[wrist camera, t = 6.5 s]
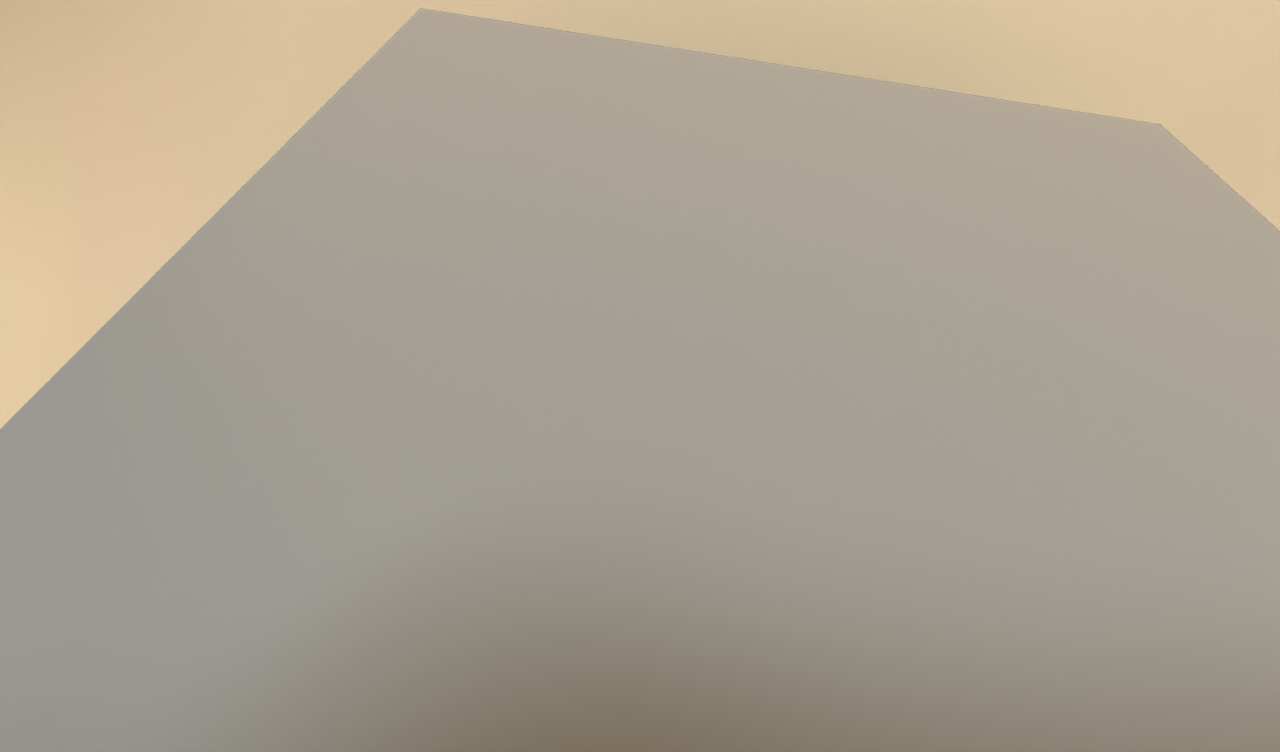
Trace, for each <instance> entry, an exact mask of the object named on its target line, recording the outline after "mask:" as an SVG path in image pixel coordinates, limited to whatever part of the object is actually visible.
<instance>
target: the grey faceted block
mask: <svg viewBox="0 0 1280 752" xmlns="http://www.w3.org/2000/svg"><path fill="white" fill-rule="evenodd" d="M0 752H1280V231H1279V230H1278V229H1277V228H1276V227H1275V226H1274V225H1272V224H1271V223H1270V222H1269V221H1268V220H1267V219H1266V218H1265V217H1264V216H1262V215H1261V214H1260V213H1259V212H1258V211H1257V210H1256V209H1255V208H1253V207H1252V206H1251V205H1250V204H1249V203H1248V202H1247V201H1246V200H1245V199H1243V198H1242V197H1241V196H1240V195H1239V194H1238V193H1237V192H1236V191H1235V190H1233V189H1232V188H1231V187H1230V186H1229V185H1228V184H1227V183H1226V182H1224V181H1223V180H1222V179H1221V178H1220V177H1219V176H1218V175H1217V174H1216V173H1214V172H1213V171H1212V170H1211V169H1210V168H1209V167H1208V166H1207V165H1205V164H1204V163H1203V162H1202V161H1201V160H1200V159H1199V158H1198V157H1197V156H1195V155H1194V154H1193V153H1192V152H1191V151H1190V150H1189V149H1188V148H1187V147H1185V146H1184V145H1183V144H1182V143H1181V142H1180V141H1179V140H1178V139H1176V138H1175V137H1174V136H1173V135H1172V134H1171V133H1170V132H1169V131H1168V130H1166V129H1165V128H1164V127H1163V126H1162V125H1161V124H1155V123H1149V122H1142V121H1136V120H1129V119H1123V118H1117V117H1110V116H1104V115H1098V114H1091V113H1085V112H1078V111H1072V110H1066V109H1059V108H1053V107H1047V106H1040V105H1034V104H1027V103H1021V102H1015V101H1008V100H1002V99H995V98H989V97H983V96H976V95H970V94H964V93H957V92H951V91H944V90H938V89H932V88H925V87H919V86H913V85H906V84H900V83H893V82H887V81H881V80H874V79H868V78H862V77H855V76H849V75H842V74H836V73H830V72H823V71H817V70H811V69H804V68H798V67H791V66H785V65H779V64H772V63H766V62H760V61H753V60H747V59H740V58H734V57H728V56H721V55H715V54H709V53H702V52H696V51H689V50H683V49H677V48H670V47H664V46H658V45H651V44H645V43H638V42H632V41H626V40H619V39H613V38H607V37H600V36H594V35H587V34H581V33H575V32H568V31H562V30H556V29H549V28H543V27H536V26H530V25H524V24H517V23H511V22H505V21H498V20H492V19H485V18H479V17H473V16H466V15H460V14H454V13H447V12H441V11H434V10H428V9H422V8H421V9H420V10H419V11H418V12H417V13H416V14H415V15H414V16H413V17H412V18H411V19H410V20H409V21H408V22H407V23H406V24H405V25H404V26H403V27H402V28H401V29H400V30H399V31H398V32H397V33H396V34H395V35H394V36H393V37H392V38H391V39H390V40H389V41H388V42H387V43H386V44H385V45H384V46H383V47H382V48H381V49H380V50H379V51H378V52H377V53H376V54H375V55H374V56H373V57H372V58H371V59H370V60H369V61H368V62H367V63H366V64H365V65H364V66H363V67H362V68H361V69H360V70H359V71H358V72H357V73H356V74H355V75H354V76H353V77H352V78H351V79H350V80H349V81H348V82H347V83H346V84H345V85H344V86H343V87H342V88H341V89H340V90H339V91H338V92H337V93H336V94H335V95H334V96H333V97H332V98H331V99H330V100H329V101H328V102H327V103H326V104H325V105H324V106H323V107H322V108H321V109H320V110H319V111H318V112H317V113H316V114H315V115H314V116H313V117H312V118H311V119H310V120H309V121H308V122H307V123H306V124H305V125H304V126H303V127H302V128H301V129H300V130H299V131H298V132H297V133H296V134H295V135H294V136H293V137H292V138H291V139H290V140H289V141H288V142H287V143H286V144H285V145H284V146H283V147H282V148H281V149H280V150H279V151H278V152H277V153H276V154H275V155H274V156H273V157H272V158H271V159H270V160H269V161H268V162H267V163H266V164H265V165H264V166H263V167H262V168H261V169H260V170H259V171H258V172H257V173H256V174H255V175H254V176H253V177H252V178H251V179H250V180H249V181H248V182H247V183H246V184H245V185H244V186H243V187H242V188H241V189H240V190H239V191H238V192H237V193H236V194H235V195H234V196H233V197H232V198H231V199H230V200H229V201H228V202H227V203H226V204H225V205H224V206H223V207H222V208H221V209H220V210H219V211H218V212H217V213H216V214H215V215H214V216H213V217H212V218H211V219H210V220H209V221H208V222H207V223H206V224H205V225H204V226H203V227H202V228H201V229H200V230H199V231H198V232H197V233H196V234H195V235H194V236H193V237H192V238H191V239H190V240H189V241H188V242H187V243H186V244H185V245H184V246H183V247H182V248H181V249H180V250H179V251H178V252H177V253H176V254H175V255H174V256H173V257H172V258H171V259H170V260H169V261H168V262H167V263H166V264H165V265H164V266H163V267H162V268H161V269H160V270H159V271H158V272H157V273H156V274H155V275H154V276H153V277H152V278H151V279H150V280H149V281H148V282H147V283H146V284H145V285H144V286H143V287H142V288H141V289H140V290H139V291H138V292H137V293H136V294H135V295H134V296H133V297H132V298H131V299H130V300H129V301H128V302H127V303H126V304H125V305H124V306H123V307H122V308H121V309H120V310H119V311H118V312H117V313H116V314H115V315H114V316H113V317H112V318H111V319H110V320H109V321H108V322H107V323H106V324H105V325H104V326H103V327H102V328H101V329H100V330H99V331H98V332H97V333H96V334H95V335H94V336H93V337H92V338H91V339H90V340H89V341H88V342H87V343H86V344H85V345H84V346H83V347H82V348H81V349H80V350H79V351H78V352H77V353H76V354H75V355H74V356H73V357H72V358H71V359H70V360H69V361H68V362H67V363H66V364H65V365H64V366H63V367H62V368H61V369H60V370H59V371H58V372H57V373H56V374H55V375H54V376H53V377H52V378H51V379H50V380H49V381H48V382H47V383H46V384H45V385H44V386H43V387H42V388H41V389H40V390H39V391H38V392H37V393H36V394H35V395H34V396H33V397H32V398H31V399H30V400H29V401H28V402H27V403H26V404H25V405H24V406H23V407H22V408H21V409H20V410H19V411H18V412H17V413H16V414H15V415H14V416H13V417H12V418H11V419H10V420H9V421H8V422H7V423H6V424H5V425H4V426H3V427H2V428H1V429H0Z"/></svg>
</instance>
